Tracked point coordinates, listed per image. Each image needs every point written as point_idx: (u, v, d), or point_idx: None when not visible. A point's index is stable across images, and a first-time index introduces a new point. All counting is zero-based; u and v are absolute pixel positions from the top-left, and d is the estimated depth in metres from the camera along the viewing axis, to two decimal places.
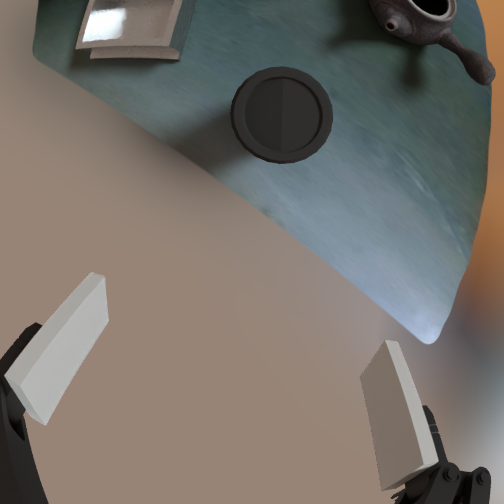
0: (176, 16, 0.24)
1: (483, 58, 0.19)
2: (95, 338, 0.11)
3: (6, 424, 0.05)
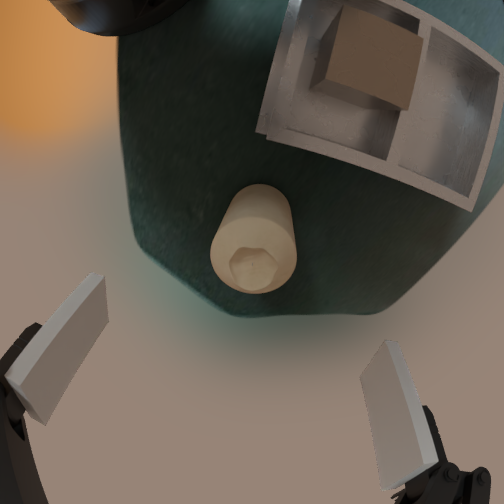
0: (476, 45, 0.13)
1: None
2: (95, 338, 0.11)
3: (6, 424, 0.05)
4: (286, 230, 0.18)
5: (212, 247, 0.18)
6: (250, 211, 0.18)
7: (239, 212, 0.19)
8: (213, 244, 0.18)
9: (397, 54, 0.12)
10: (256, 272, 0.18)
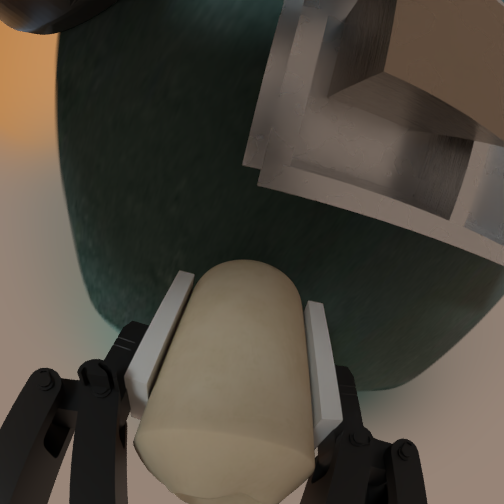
0: None
1: None
2: None
3: (117, 435, 0.06)
4: (296, 443, 0.06)
5: (135, 449, 0.07)
6: (208, 397, 0.07)
7: (183, 390, 0.07)
8: (135, 447, 0.07)
9: (498, 43, 0.04)
10: None
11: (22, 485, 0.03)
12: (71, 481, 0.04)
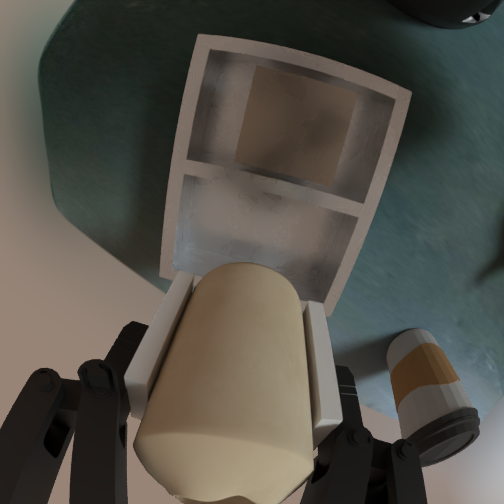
0: (347, 275, 0.21)
1: None
2: None
3: (117, 435, 0.06)
4: (295, 446, 0.06)
5: (135, 451, 0.07)
6: (207, 400, 0.07)
7: (182, 394, 0.07)
8: (135, 449, 0.07)
9: (302, 148, 0.13)
10: None
11: (22, 485, 0.03)
12: (71, 481, 0.04)
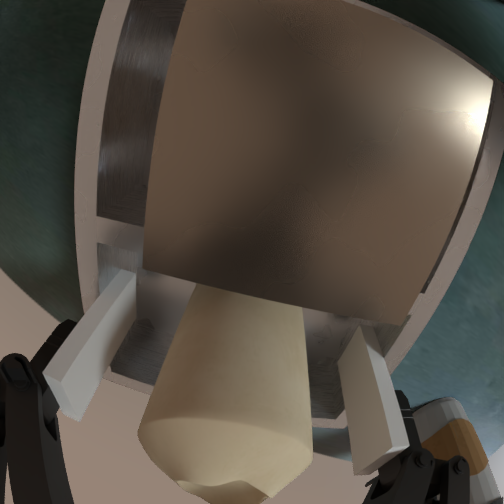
0: None
1: None
2: (125, 334, 0.12)
3: (41, 425, 0.05)
4: (294, 432, 0.07)
5: (139, 439, 0.07)
6: (210, 386, 0.07)
7: (186, 380, 0.07)
8: (139, 437, 0.07)
9: (341, 236, 0.04)
10: (230, 483, 0.07)
11: None
12: (10, 475, 0.03)
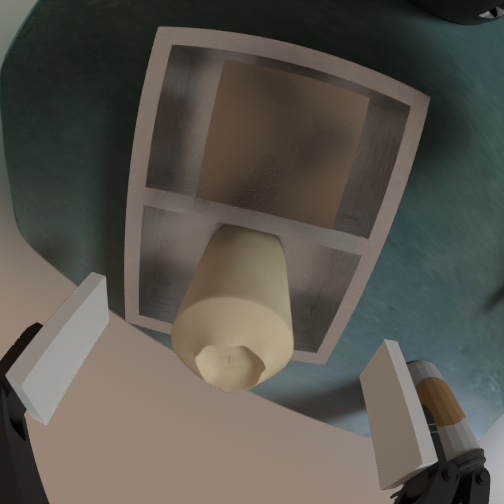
0: (346, 321, 0.17)
1: None
2: (96, 338, 0.11)
3: (7, 424, 0.05)
4: (278, 312, 0.12)
5: (172, 333, 0.12)
6: (224, 283, 0.12)
7: (208, 283, 0.12)
8: (173, 330, 0.12)
9: (290, 178, 0.10)
10: (235, 368, 0.12)
11: None
12: None
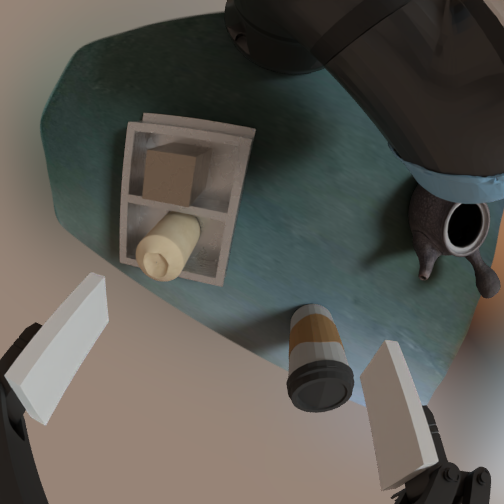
0: (226, 258, 0.34)
1: (493, 281, 0.29)
2: (95, 338, 0.11)
3: (6, 424, 0.05)
4: (174, 242, 0.29)
5: (136, 253, 0.30)
6: (156, 231, 0.30)
7: (150, 232, 0.30)
8: (136, 251, 0.30)
9: (171, 189, 0.27)
10: (159, 267, 0.30)
11: None
12: None
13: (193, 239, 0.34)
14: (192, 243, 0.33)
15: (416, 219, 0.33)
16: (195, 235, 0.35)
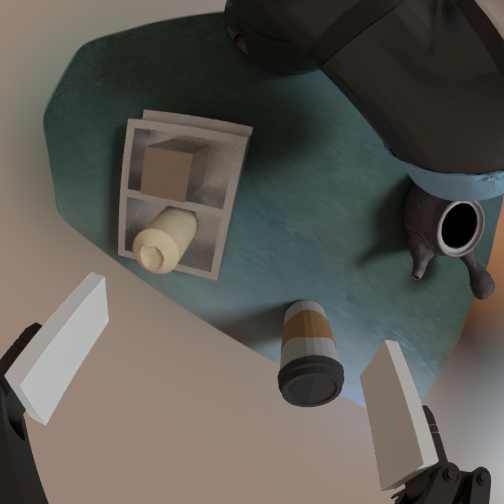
0: (221, 253, 0.35)
1: (487, 283, 0.30)
2: (95, 338, 0.11)
3: (6, 424, 0.05)
4: (170, 236, 0.30)
5: (133, 246, 0.30)
6: (153, 225, 0.30)
7: (148, 226, 0.31)
8: (133, 244, 0.30)
9: (168, 185, 0.28)
10: (155, 260, 0.30)
11: None
12: None
13: (189, 233, 0.35)
14: (188, 237, 0.34)
15: (410, 219, 0.33)
16: (191, 230, 0.35)
